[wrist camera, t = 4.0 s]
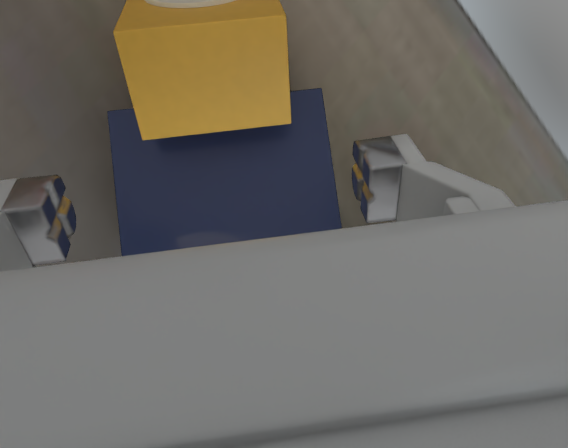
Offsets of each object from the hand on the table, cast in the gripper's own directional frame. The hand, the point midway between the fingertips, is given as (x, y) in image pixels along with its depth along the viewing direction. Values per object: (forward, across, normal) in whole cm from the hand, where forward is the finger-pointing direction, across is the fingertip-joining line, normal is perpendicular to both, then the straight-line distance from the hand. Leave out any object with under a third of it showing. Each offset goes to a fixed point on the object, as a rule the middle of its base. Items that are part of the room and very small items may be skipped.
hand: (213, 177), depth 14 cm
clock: (+12, 0, 0) cm, 12 cm away
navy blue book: (+11, 0, +9) cm, 14 cm away
